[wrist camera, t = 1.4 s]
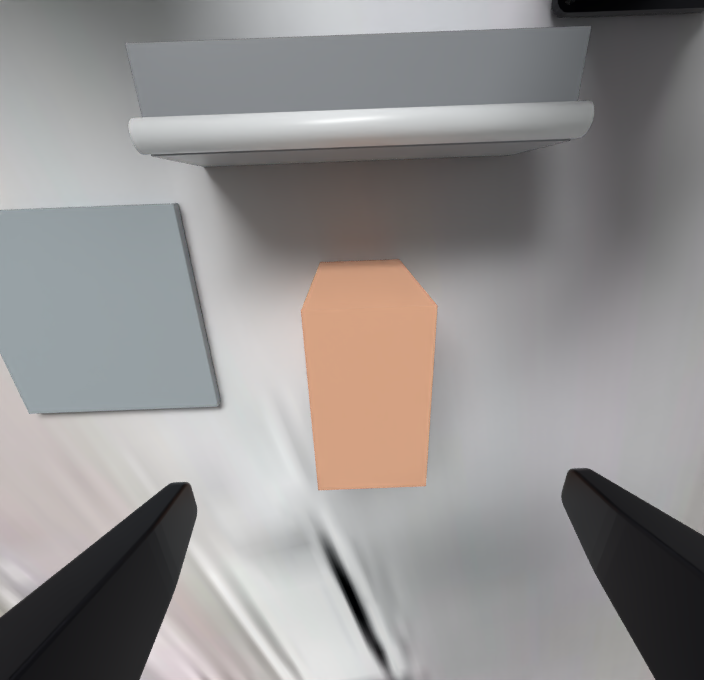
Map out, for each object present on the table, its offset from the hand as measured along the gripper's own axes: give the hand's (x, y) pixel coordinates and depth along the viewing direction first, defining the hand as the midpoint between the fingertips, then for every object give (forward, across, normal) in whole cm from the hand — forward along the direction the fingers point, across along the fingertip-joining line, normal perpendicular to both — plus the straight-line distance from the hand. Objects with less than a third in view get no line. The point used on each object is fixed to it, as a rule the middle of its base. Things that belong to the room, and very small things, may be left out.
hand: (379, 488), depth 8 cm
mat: (+11, +14, -1) cm, 18 cm away
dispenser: (+11, 0, -9) cm, 15 cm away
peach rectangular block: (+11, 0, 0) cm, 11 cm away
